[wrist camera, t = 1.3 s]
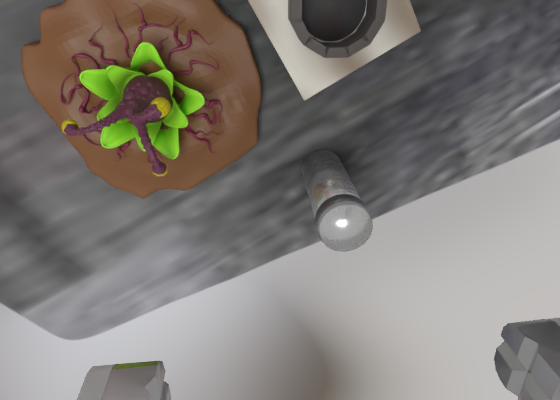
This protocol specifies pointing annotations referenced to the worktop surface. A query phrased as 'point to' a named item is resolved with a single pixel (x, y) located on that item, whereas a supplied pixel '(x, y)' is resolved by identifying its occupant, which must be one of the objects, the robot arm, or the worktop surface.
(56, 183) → the worktop surface
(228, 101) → the plant
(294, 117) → the worktop surface
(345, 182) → the frosted cylinder in socket
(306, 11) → the duct board
